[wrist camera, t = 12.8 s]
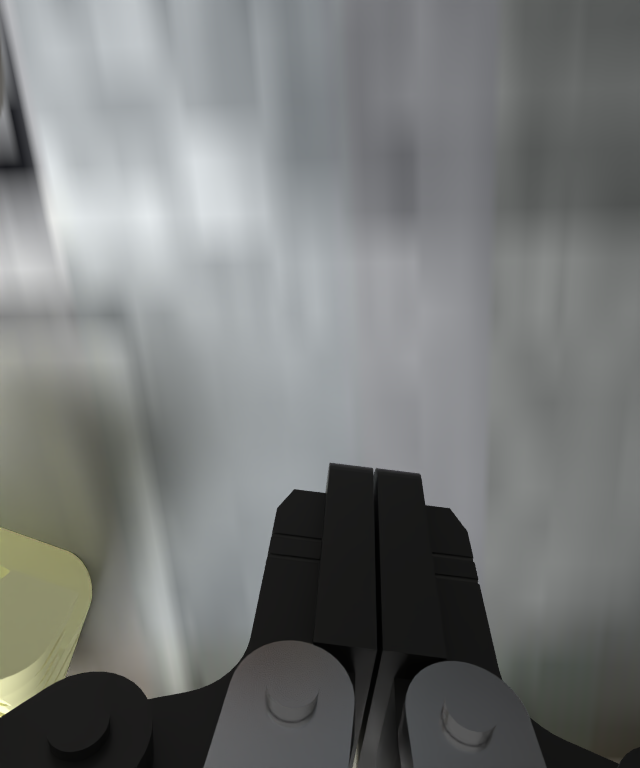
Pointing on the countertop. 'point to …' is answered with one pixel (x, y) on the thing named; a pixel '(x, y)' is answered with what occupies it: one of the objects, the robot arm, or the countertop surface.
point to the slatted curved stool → (37, 615)
